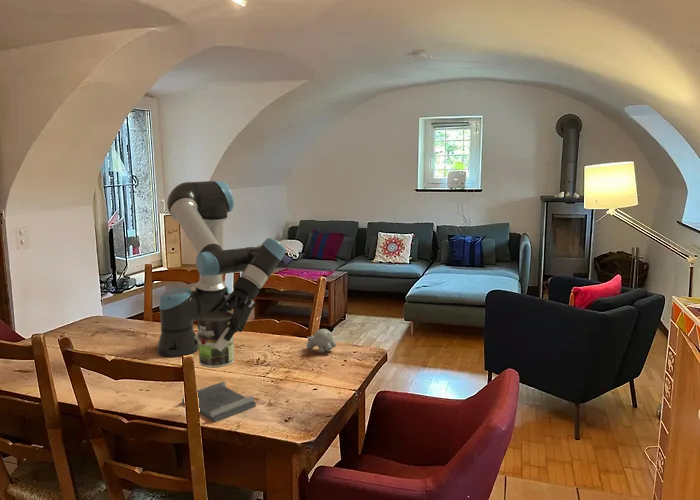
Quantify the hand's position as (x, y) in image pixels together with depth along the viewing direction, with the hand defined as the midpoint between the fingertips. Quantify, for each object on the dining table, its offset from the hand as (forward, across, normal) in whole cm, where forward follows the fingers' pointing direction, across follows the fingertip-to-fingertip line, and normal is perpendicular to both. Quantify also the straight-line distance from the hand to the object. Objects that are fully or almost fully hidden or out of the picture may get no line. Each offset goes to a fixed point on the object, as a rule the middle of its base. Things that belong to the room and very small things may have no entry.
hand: (207, 344), depth 162 cm
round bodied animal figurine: (-25, +13, -54) cm, 61 cm away
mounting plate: (+12, 0, -16) cm, 20 cm away
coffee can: (+2, 0, -7) cm, 7 cm away
